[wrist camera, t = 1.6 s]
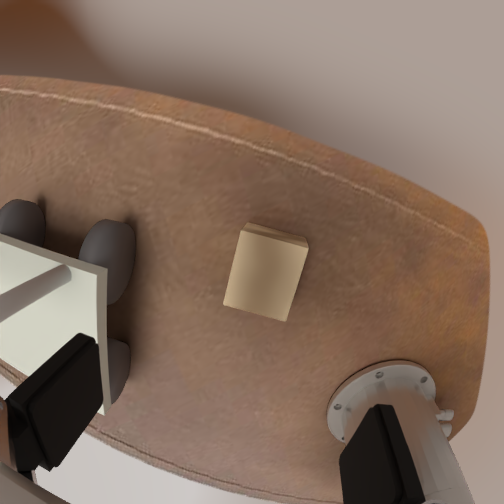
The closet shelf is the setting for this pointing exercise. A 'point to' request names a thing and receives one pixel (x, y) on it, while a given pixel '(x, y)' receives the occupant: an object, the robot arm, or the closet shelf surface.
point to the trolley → (61, 293)
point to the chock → (265, 271)
